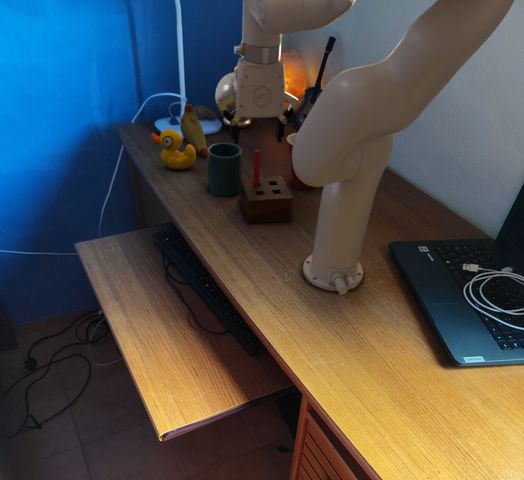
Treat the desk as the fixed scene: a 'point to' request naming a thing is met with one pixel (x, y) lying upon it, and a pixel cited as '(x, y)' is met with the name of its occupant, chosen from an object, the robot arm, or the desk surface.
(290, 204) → the straw stand
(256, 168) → the straw
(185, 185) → the desk surface
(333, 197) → the robot arm
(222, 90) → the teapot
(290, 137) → the plastic cup
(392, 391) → the desk surface
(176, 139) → the duckling
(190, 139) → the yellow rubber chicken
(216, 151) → the tumbler
